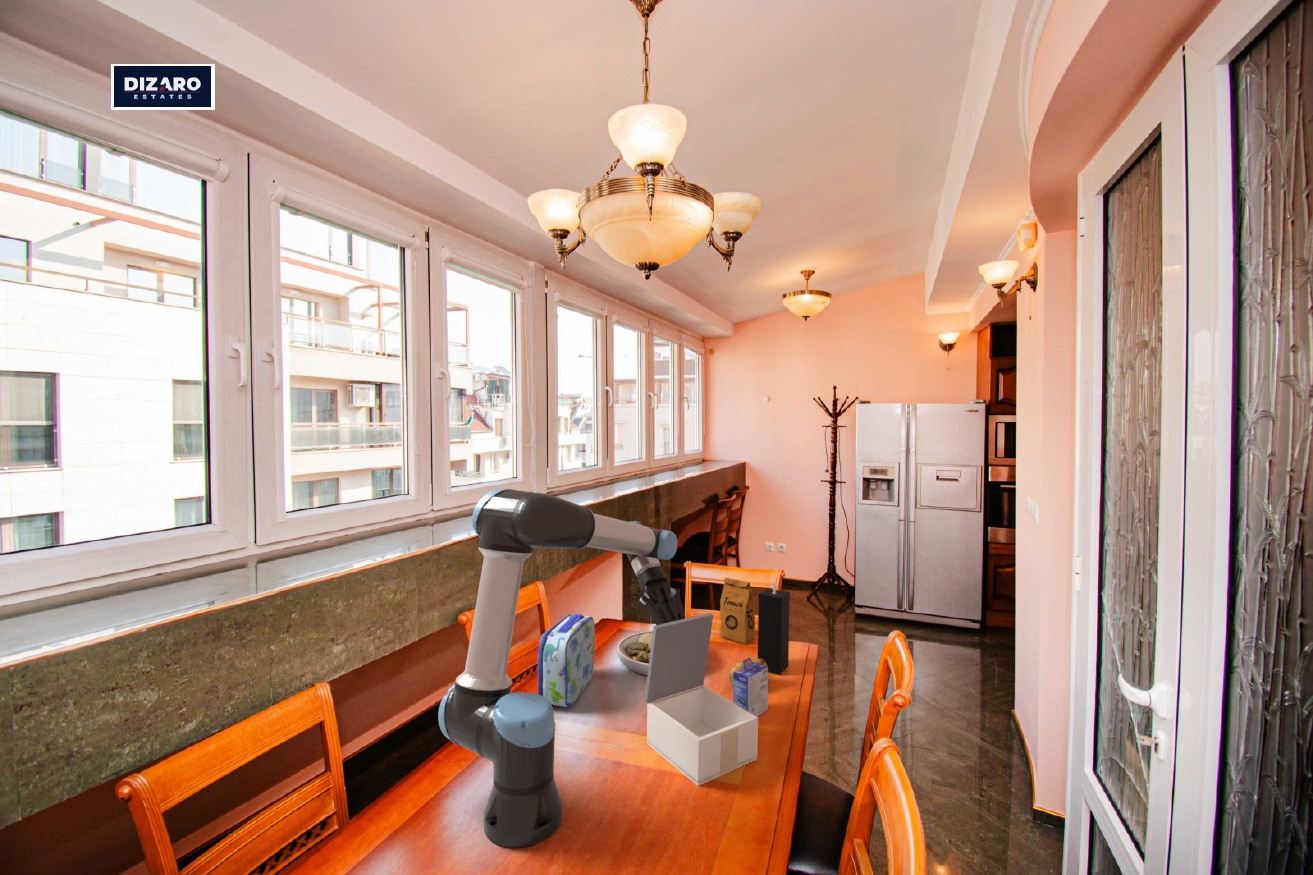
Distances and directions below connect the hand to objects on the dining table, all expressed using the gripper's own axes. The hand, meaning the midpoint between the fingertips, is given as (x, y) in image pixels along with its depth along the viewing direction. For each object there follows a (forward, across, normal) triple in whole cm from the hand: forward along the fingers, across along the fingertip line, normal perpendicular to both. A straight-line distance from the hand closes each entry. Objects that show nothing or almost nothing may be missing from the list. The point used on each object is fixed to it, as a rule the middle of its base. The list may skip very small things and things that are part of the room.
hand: (684, 651), depth 149 cm
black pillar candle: (+7, -47, -23) cm, 53 cm away
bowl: (-11, -20, -42) cm, 48 cm away
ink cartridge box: (+18, -20, -11) cm, 29 cm away
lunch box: (-10, +16, -40) cm, 44 cm away
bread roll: (+9, -30, -20) cm, 38 cm away
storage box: (+22, +3, -6) cm, 23 cm away
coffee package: (-11, -55, -42) cm, 70 cm away
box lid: (+2, +3, +1) cm, 4 cm away
